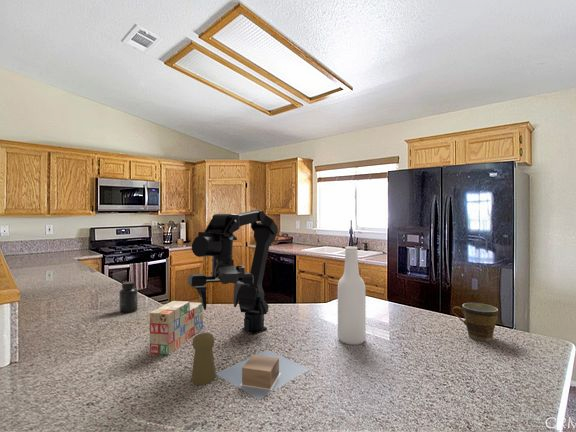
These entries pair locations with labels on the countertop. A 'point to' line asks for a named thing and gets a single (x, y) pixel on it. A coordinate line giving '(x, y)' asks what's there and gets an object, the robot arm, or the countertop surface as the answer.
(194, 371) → the olive pawn
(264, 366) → the walnut block
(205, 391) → the countertop surface
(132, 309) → the supplement bottle
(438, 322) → the countertop surface
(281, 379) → the mat
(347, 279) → the alcohol
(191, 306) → the stack of blocks
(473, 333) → the ceramic cup
